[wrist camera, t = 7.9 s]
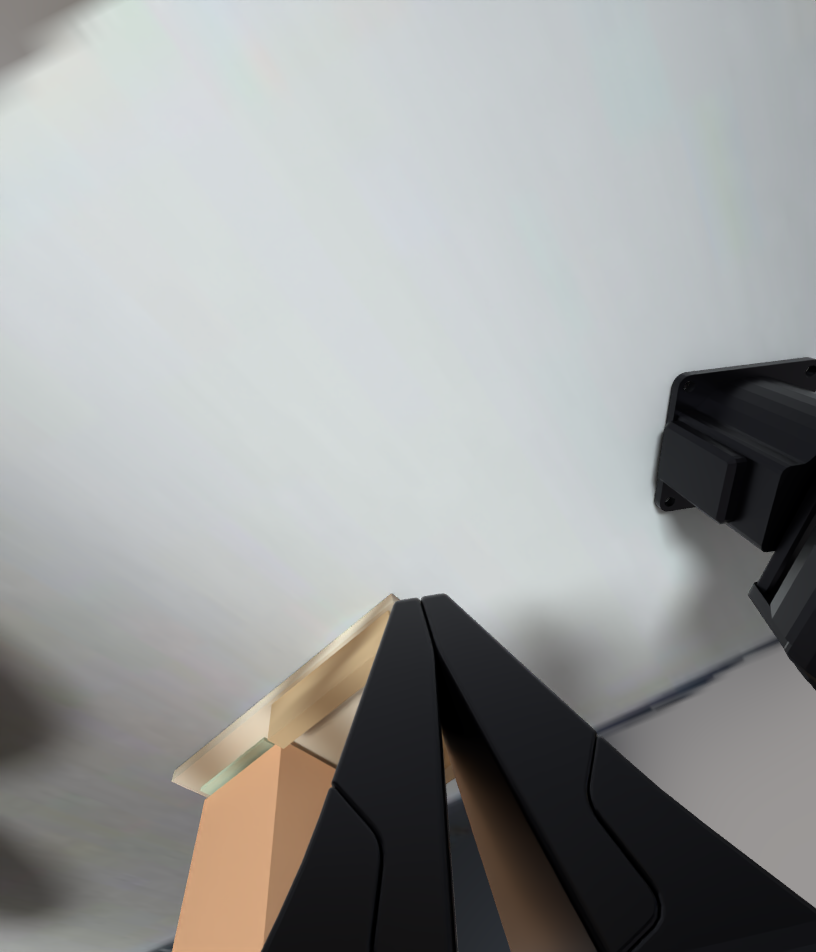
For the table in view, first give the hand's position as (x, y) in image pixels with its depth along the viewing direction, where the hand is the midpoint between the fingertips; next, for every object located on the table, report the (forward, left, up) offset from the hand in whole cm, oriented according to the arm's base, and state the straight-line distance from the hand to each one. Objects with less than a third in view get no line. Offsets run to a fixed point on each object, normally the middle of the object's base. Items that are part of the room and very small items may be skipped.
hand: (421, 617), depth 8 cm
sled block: (+7, +22, -13) cm, 26 cm away
